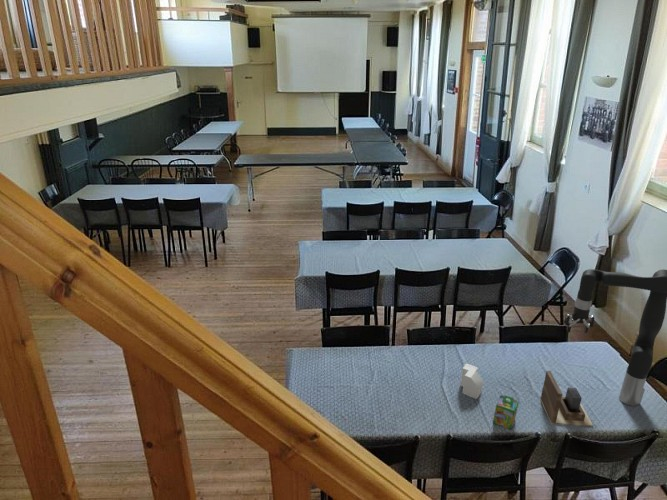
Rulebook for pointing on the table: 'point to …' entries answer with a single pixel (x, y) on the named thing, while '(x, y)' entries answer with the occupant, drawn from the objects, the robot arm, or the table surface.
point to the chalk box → (505, 411)
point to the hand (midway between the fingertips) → (576, 332)
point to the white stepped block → (471, 381)
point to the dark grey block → (572, 400)
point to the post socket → (560, 405)
